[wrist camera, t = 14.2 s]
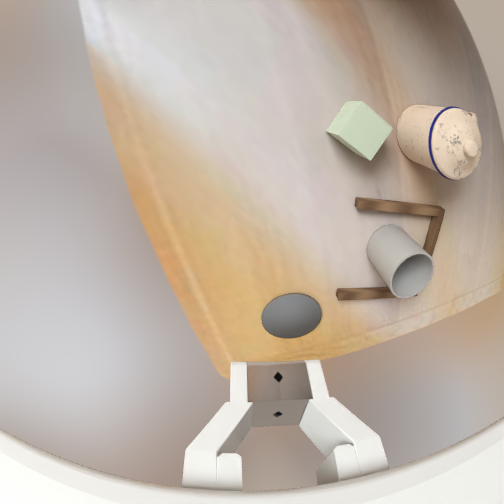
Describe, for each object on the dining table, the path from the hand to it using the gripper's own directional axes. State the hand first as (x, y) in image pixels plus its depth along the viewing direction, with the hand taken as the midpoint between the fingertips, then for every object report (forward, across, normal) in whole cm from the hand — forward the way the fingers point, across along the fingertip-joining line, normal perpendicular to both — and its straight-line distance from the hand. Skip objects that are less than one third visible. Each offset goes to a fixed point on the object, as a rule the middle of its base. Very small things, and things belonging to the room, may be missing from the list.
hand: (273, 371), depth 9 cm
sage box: (+29, -13, -7) cm, 33 cm away
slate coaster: (+29, -8, +23) cm, 38 cm away
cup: (+29, -22, +11) cm, 38 cm away
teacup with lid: (+29, -25, -9) cm, 39 cm away
